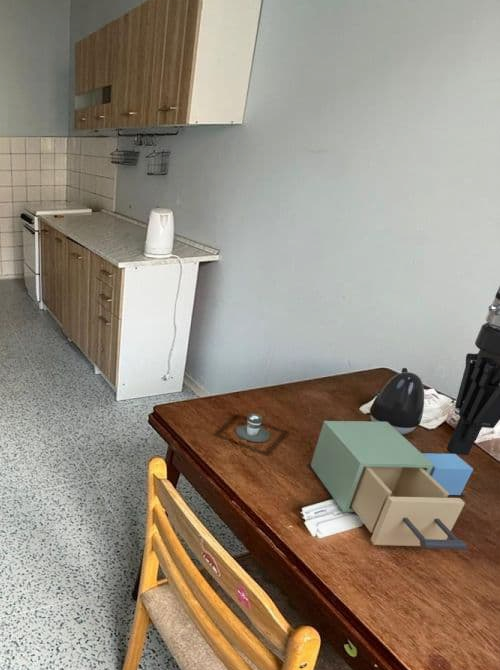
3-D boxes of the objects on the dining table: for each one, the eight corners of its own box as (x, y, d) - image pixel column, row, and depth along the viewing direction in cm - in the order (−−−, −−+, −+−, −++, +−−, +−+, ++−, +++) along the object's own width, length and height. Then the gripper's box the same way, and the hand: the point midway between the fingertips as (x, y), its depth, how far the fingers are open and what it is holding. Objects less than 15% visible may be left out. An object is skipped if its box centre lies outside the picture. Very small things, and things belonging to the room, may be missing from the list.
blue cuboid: (443, 479, 98) (455, 453, 95) (460, 495, 94) (473, 468, 91) (408, 478, 98) (419, 453, 95) (423, 494, 94) (435, 468, 91)
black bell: (410, 422, 117) (432, 367, 110) (418, 444, 109) (443, 386, 102) (362, 414, 121) (381, 361, 114) (367, 435, 113) (387, 378, 106)
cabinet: (411, 513, 89) (434, 464, 84) (343, 512, 90) (360, 463, 85) (370, 467, 102) (387, 421, 97) (310, 465, 103) (323, 420, 97)
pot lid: (285, 432, 115) (290, 415, 112) (266, 453, 107) (270, 435, 105) (238, 415, 122) (241, 399, 120) (216, 434, 115) (219, 417, 112)
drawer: (469, 576, 75) (495, 530, 71) (395, 573, 76) (415, 528, 72) (396, 494, 93) (413, 454, 88) (336, 493, 93) (350, 453, 89)
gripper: (465, 312, 80) (417, 430, 91) (509, 340, 69) (449, 470, 80) (518, 315, 78) (463, 435, 89) (573, 344, 67) (502, 477, 78)
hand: (456, 451), depth 84 cm, fingers closed
